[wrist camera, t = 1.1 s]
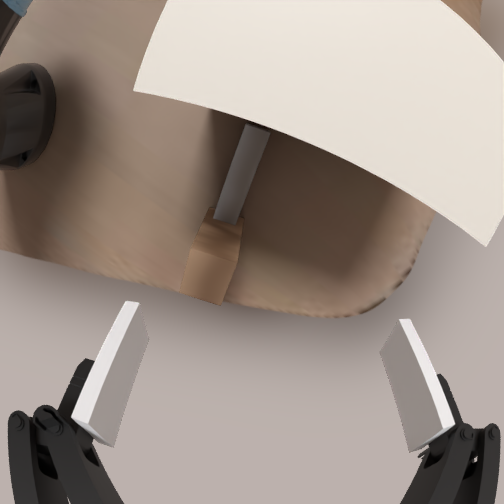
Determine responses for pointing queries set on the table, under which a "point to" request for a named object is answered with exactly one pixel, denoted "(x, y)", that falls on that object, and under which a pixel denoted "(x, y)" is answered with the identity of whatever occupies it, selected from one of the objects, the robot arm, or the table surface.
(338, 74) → the cabinet
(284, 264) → the table surface
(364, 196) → the table surface
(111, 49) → the table surface
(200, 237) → the blade tool
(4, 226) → the table surface
